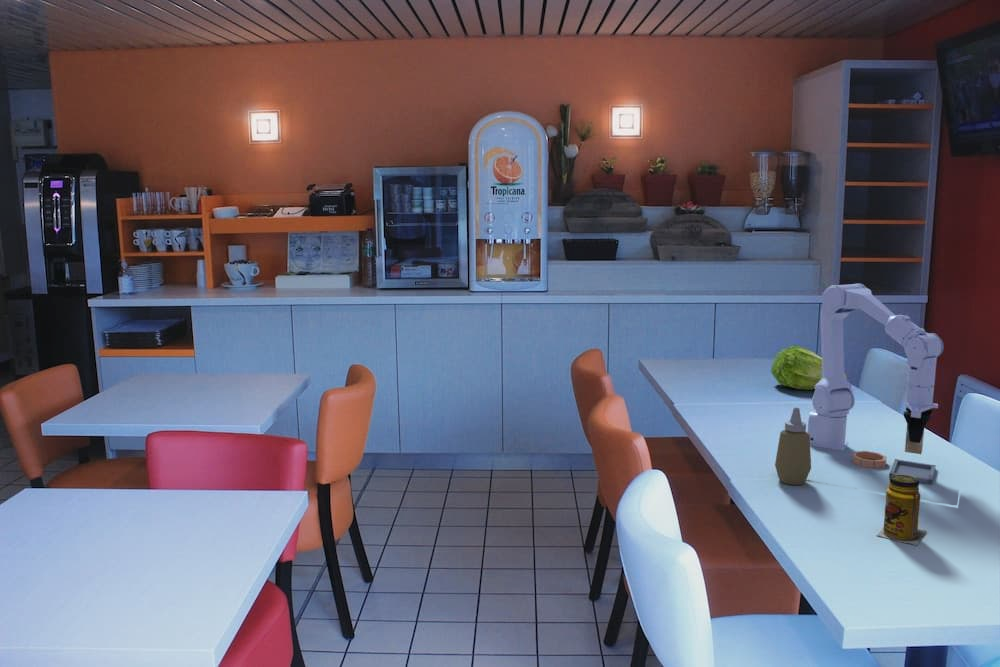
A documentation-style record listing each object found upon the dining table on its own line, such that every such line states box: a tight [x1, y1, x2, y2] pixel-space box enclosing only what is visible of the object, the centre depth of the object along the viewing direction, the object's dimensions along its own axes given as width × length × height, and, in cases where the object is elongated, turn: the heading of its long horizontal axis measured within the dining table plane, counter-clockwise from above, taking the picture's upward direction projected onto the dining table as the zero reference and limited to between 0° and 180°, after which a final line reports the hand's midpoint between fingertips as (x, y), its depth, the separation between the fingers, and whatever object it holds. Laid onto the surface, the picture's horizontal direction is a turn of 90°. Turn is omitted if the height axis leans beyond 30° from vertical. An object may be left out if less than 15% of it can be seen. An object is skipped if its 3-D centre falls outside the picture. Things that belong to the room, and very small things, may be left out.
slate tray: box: [888, 458, 937, 486], centre depth 192 cm, size 9×12×2 cm
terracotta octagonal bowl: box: [851, 450, 887, 469], centre depth 200 cm, size 8×8×2 cm
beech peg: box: [904, 425, 925, 455], centre depth 190 cm, size 4×4×8 cm
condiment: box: [876, 475, 928, 546], centre depth 158 cm, size 7×8×12 cm
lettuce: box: [771, 345, 847, 391], centre depth 276 cm, size 15×24×16 cm
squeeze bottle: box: [774, 407, 812, 486], centre depth 187 cm, size 8×8×18 cm
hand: (915, 439), depth 190 cm, fingers closed on beech peg, 3 cm apart
